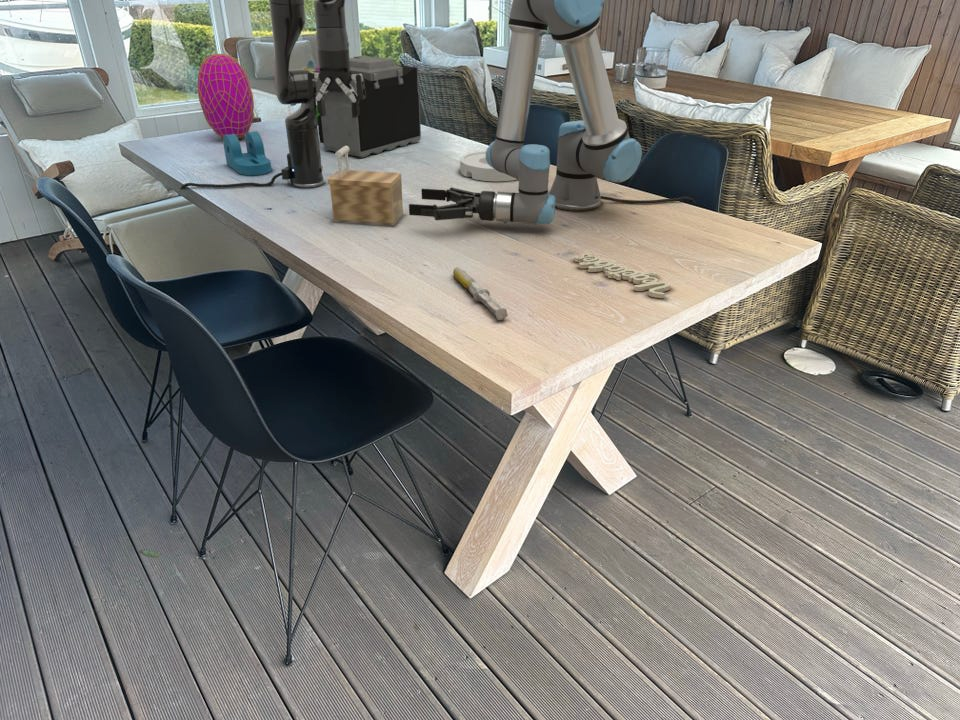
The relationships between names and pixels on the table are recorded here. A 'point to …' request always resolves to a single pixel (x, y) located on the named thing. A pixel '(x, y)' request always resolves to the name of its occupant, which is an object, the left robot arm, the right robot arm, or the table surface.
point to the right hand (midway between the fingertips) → (415, 201)
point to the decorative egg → (225, 95)
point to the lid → (361, 175)
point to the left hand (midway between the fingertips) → (339, 116)
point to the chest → (367, 204)
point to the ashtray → (480, 168)
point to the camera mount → (246, 154)
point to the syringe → (479, 293)
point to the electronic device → (373, 109)
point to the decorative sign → (625, 274)
